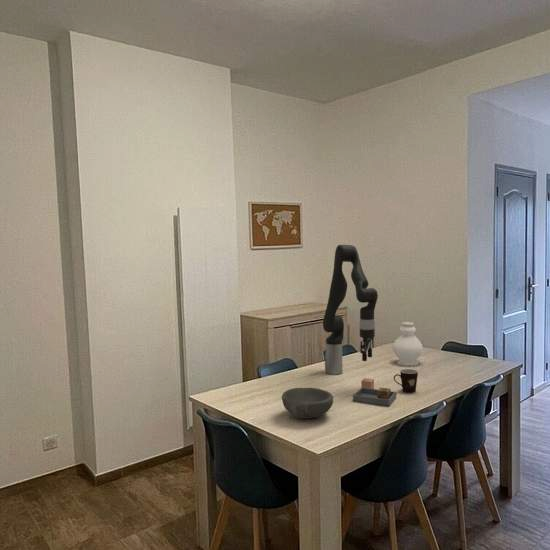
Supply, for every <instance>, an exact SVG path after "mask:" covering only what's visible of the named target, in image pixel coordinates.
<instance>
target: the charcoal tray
mask: <svg viewBox="0 0 550 550" xmlns="http://www.w3.org/2000/svg"><path fill="white" fill-rule="evenodd" d="M377 390H378V389H376V388H374V389H370V388H360V389H358V390H357V391H356V392H355V393H354V394H352V402H355V403H362V404H367V405H368V404H370V405H375V406H381V407H382V406H383V407H390V406H391V405H392V404H393V402H394V401H395V400H396V399H397V392H396V391H392V390H391V397H390V398H389V399H388V400H387V399H380V398H377Z"/></svg>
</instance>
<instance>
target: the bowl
mask: <svg viewBox="0 0 550 550" xmlns="http://www.w3.org/2000/svg"><path fill="white" fill-rule="evenodd" d="M281 402H282V404H283V407H284V408H285V409H286V411H287V412H288V413H289V414H290V415H292V416H294V417H295V418H299V419H312V418H313V419H314V418H318V417H321V416H323V415H325V414H326V413H328V412H329V410H330V409H331V408H332V406H333V404H334V396H333V394H332V393H331V392H329V391H327V390H325V389H320V388H315V387H295V388H290V389H287V390H285V391H284V392H282V394H281Z"/></svg>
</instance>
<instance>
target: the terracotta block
mask: <svg viewBox="0 0 550 550" xmlns="http://www.w3.org/2000/svg"><path fill="white" fill-rule="evenodd" d="M360 384H361V388H370V389H375V379H373V378H367V377H364V378H363V379H362V380H361V383H360ZM361 388H360V389H361Z"/></svg>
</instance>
